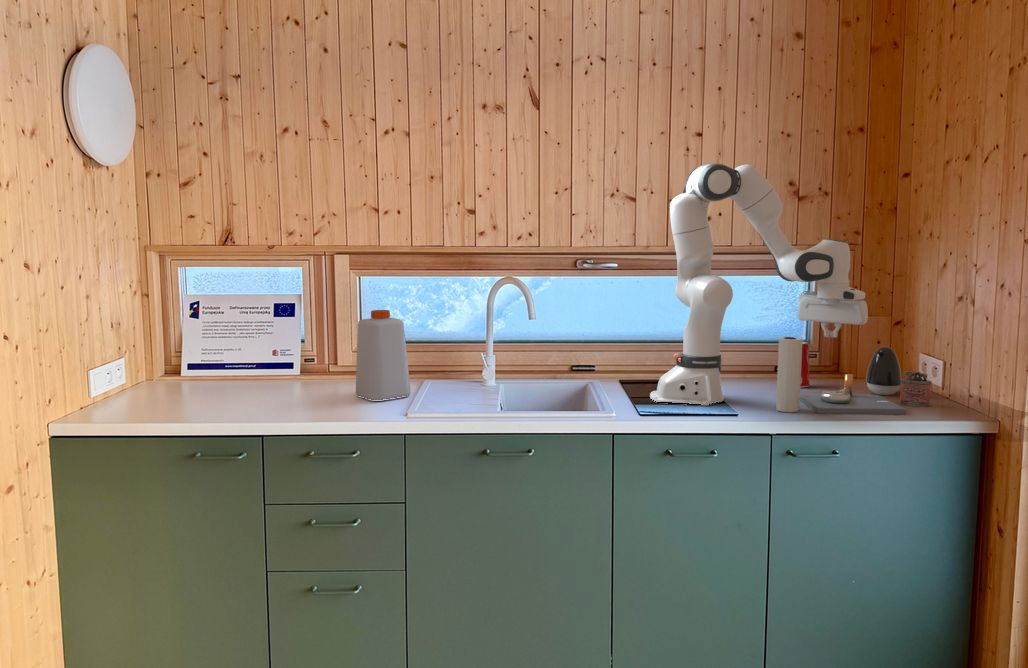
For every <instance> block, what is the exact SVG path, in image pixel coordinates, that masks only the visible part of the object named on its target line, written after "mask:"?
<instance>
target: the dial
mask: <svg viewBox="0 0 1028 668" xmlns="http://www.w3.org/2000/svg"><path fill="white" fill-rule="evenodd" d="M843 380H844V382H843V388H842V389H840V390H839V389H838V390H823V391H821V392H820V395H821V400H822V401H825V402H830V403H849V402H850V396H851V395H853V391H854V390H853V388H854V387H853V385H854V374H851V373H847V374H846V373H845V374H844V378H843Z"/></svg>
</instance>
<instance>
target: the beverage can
mask: <svg viewBox="0 0 1028 668" xmlns="http://www.w3.org/2000/svg"><path fill="white" fill-rule="evenodd" d="M809 347H810V346H809V345H808V342H806V341H802V361H801V383H800V389H802V388H808V387H809V386H810V361H809V360H810V357H809V356H810V354H809V353H810V351H809V349H810V348H809Z"/></svg>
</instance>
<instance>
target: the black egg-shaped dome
mask: <svg viewBox="0 0 1028 668" xmlns="http://www.w3.org/2000/svg"><path fill="white" fill-rule="evenodd" d="M902 378H903V377H902V371H901V366H900V362H899V359H898V356H897V353H896V352H895V350H894V349H893V348H891V347H889V346H881V347H879V348H877V349H876V350H875V352H874V353H873V355H872V356H871V359H870V361H869V363H868V367H867V371H866V375H865V382H866V385H867V388H868V390H869V391H870V392H871V393H873V394H874V395H879V396H891V395H894V394H896V393H897V392H898V391H899V390H900V388H901V379H902Z"/></svg>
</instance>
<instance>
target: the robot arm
mask: <svg viewBox="0 0 1028 668" xmlns="http://www.w3.org/2000/svg"><path fill="white" fill-rule="evenodd" d="M682 191H683V192H682V193H680V194H679V195H676V196H675V197H673V199H672V200H671V202H670V204H669V219H670V220H669V221H670V229H671V234H672V239H673V244H674V248H675V255H676V262H677V263H676V264H677V271H676V272H677V280H676V285H675V290H674V291H675V296H676V297H677V299H678V300H679V301H680V302H681V303H682V304H683V305H685V306H686V307H689V308H690V312H689V315H688V319H687V323H686V325H685V326H684V328H683V339H682V342H683V346H682V347H683V348H682V353H680V354H679V353H674V354H673V359H674V360H675V363H676V365H675V366H673V367H672V368H671V369H669V370H668V371H667V372H666V373H664V374H663V375H661V376H660V377H659V380H658V382H657V387H656V390H653V391H651V392H650V393H649V397H650V400H651V399H652V400H651V401H653V400H654V401H653V402H655V401H656V402H655V403H657V402H672V403H689V404H701V405H700V406H710V405H712V403H713V404H716V402H718V403H721V402H723V401H724V400H725V398H724V394H723V390H722V382H721V373H722V371H721V370H722V354H721V333H722V332H721V331H722V326H723V322H724V318H725V314H726V311H727V307H728V306H730V304H731V303H732V300H733V298H734V290H733V288H732V285H731V284H730V283H729V282H728V281H726V279H724V278H723V277H721V276H719V275H714V274H712V258H713V255H714V251H715V250H714V249H715V247H714V244H713V243H714V242H713V239H712V238H713V237H712V232H711V228H710V223H709V218H708V207H709V205H710V203H713V202H719V201H723V200H726V199H728V198H729V199H731V200H732V201H733V202H734V203H735V204H736V205H737V207H738V209H739V210H740V211H741V212H742V214H743V215H744V217H745V218H746V219H747V220H748V221H749V223H750V224H751V225H752V227H753V229H755V231H756V232H757V234H758V235H759V237H760V239H761V241H762V242H763V243H764V245H765V246H766V248H767V250H768V251H769V253H770V254H771V256H772V258H773V261H774V265H775V270H776V272H777V275H778V276H779V277H780V278H781V279H782V280H784V281H787V282H792V283H793V282H800V283H813V282H816V281H817V287H816V288H817V290H816V291H808V290H807V291H806V290H804V291H803V292H801V293H800V294H799V296H798V302H799V303H798V309H797V319H798V321H806V322H807V321H808V322H817V323H820V327H821V329H822V330H823V337H824V338H825V337H826V338H837V337H838V332H839V331H840V329H841V328H842V324H845V325H856V326H858V325H859V326H862V325H863V326H864V325H865V324H866V323H867V322H868V321H869V320H868V319H869V313H868V312H869V310H868V305H867V302H866V301H865V298H866V293H865V292H864V291H862V290H859V289H856V288H853V287H850V279H849V272H850V270H851V249H850V246H849V244H848V243H847V242H846V241H844V240H839V239H833V238H825V239H822V240H821V241H820V242H819V243H817V244H816V245H814V246H812V247H810V248H807V249H805V250H801V249H797V248H796V247H794V246H793V245H791V242H790V241H789V240H788V239H787V237H786V235H785V233H784V232H783V230H782V229H781V227H780V225H779V219H780V217H781V216H782V213H783V209H784V208H783V206H784V205H783V203H782V200H781V198H780V196H779V194H778V192H777V191H776V189H775V188H774V187H773V185H772V184H771V182H769V180H767V178H766V177H765V176H764V175H763V174H762V172H760V171H759V170H758V169H757V168H756V167H755V166H753V165H751V164H747V163H746V164H742V165H738V166H737V167H735V168H733V167H730V166H727V165H725V164H722V163H706V164H702V165H700V166H697V167H695V168H694V169H692V171H691V172H690V173H689V175H688V176H687V178H686V182H685V186H684V188H683V190H682ZM830 323H832V324H834V327H835V328H834V329H833V331H832V330H829V329H828V327H827V326H828V325H829V324H830ZM709 404H710V405H709Z"/></svg>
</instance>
